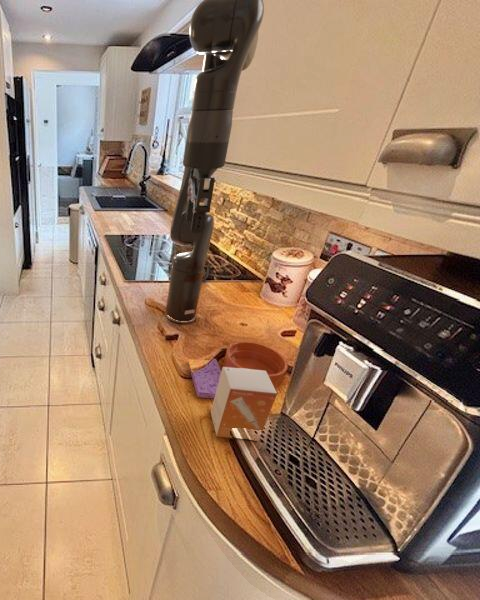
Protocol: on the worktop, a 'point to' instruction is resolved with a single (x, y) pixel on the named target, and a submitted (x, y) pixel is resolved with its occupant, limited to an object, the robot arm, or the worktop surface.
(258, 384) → the small box
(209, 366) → the sponge
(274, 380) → the bowl
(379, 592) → the worktop surface
